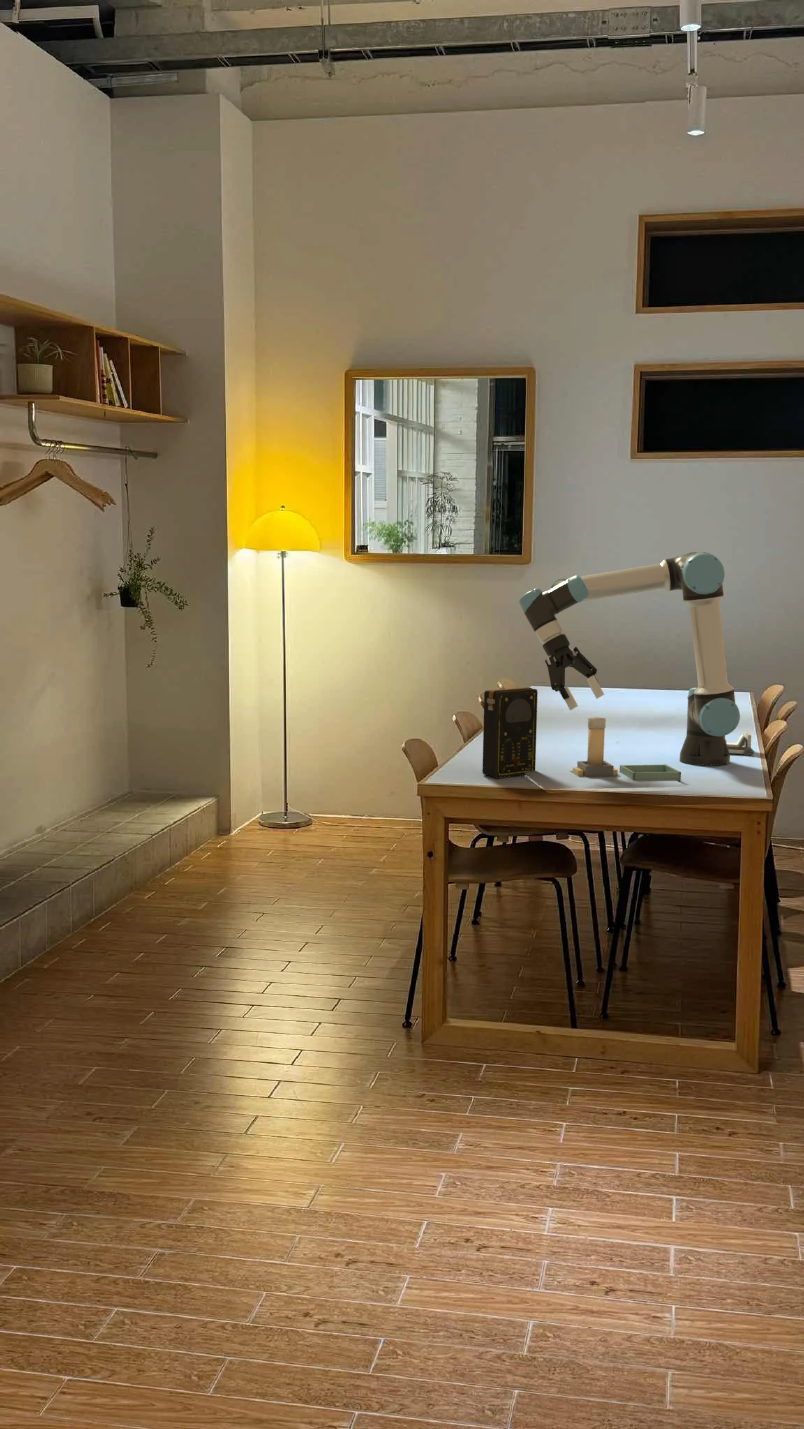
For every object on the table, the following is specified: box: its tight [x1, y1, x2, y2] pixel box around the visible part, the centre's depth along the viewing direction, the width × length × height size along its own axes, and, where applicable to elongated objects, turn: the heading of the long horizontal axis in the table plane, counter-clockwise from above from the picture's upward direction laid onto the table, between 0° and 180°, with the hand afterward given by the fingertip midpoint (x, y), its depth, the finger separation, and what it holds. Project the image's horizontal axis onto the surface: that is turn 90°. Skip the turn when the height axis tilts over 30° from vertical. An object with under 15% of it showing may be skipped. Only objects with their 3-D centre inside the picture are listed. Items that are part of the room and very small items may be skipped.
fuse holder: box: [569, 760, 621, 778], centre depth 379 cm, size 12×10×4 cm
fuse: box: [586, 716, 607, 766], centre depth 378 cm, size 5×5×16 cm
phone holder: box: [726, 730, 755, 757], centre depth 426 cm, size 18×10×12 cm
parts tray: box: [619, 764, 682, 783], centre depth 378 cm, size 14×12×3 cm
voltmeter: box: [482, 686, 539, 780], centre depth 380 cm, size 16×9×25 cm, turn 126°
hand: (587, 702), depth 386 cm, fingers open, 13 cm apart
